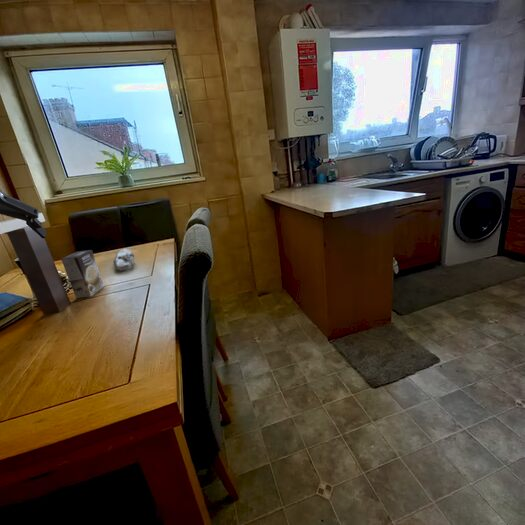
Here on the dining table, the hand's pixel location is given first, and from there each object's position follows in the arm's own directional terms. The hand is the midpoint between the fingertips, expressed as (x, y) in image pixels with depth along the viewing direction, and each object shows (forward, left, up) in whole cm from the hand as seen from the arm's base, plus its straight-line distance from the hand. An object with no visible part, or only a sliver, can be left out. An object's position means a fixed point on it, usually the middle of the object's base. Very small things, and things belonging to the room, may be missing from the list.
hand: (18, 241), depth 78 cm
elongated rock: (-6, +60, -28) cm, 66 cm away
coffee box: (-3, +24, -28) cm, 37 cm away
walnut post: (-8, +12, -28) cm, 31 cm away
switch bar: (-8, +10, +2) cm, 13 cm away
